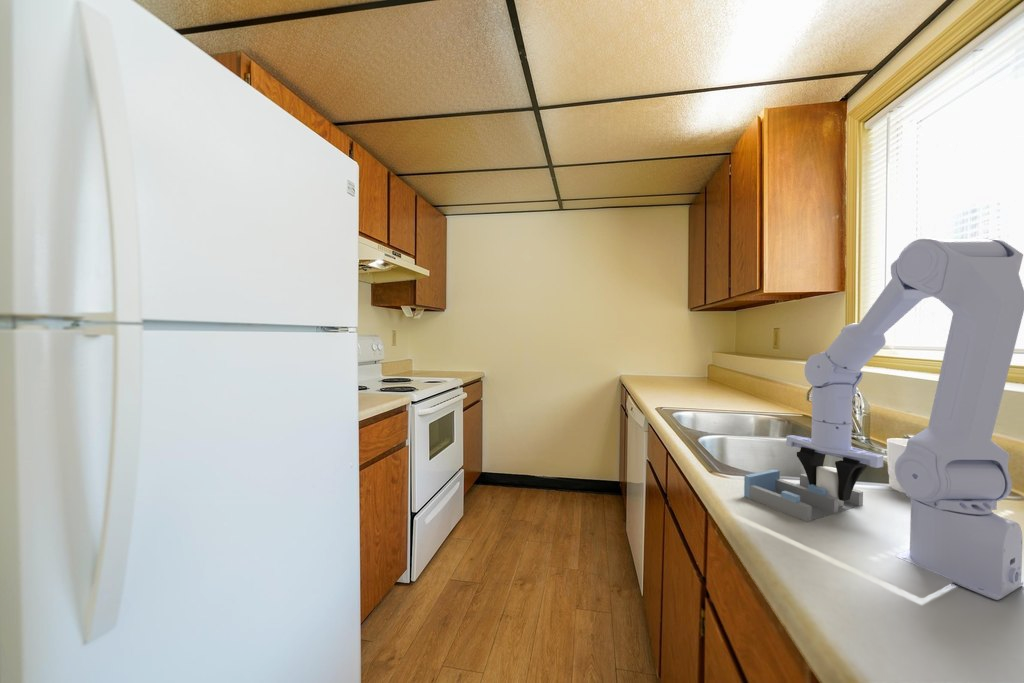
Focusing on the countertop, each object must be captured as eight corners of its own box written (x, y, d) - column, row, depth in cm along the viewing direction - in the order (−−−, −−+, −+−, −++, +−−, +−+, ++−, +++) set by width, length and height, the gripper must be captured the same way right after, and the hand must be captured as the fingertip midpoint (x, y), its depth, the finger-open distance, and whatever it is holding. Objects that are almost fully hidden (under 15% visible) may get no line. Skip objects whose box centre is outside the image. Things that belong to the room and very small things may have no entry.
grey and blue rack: (862, 508, 72) (863, 482, 72) (806, 525, 65) (807, 497, 65) (798, 486, 82) (798, 464, 82) (744, 499, 75) (744, 475, 75)
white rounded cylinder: (848, 504, 72) (849, 471, 71) (835, 508, 70) (836, 474, 70) (823, 496, 75) (824, 465, 75) (810, 499, 74) (811, 467, 74)
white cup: (954, 501, 75) (956, 449, 75) (912, 501, 75) (913, 448, 75) (913, 485, 83) (914, 438, 82) (874, 485, 83) (876, 437, 83)
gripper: (893, 427, 67) (891, 506, 68) (802, 412, 81) (800, 478, 81) (870, 431, 64) (869, 514, 65) (780, 414, 78) (778, 483, 78)
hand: (829, 494), depth 73 cm, fingers closed on white rounded cylinder, 4 cm apart
